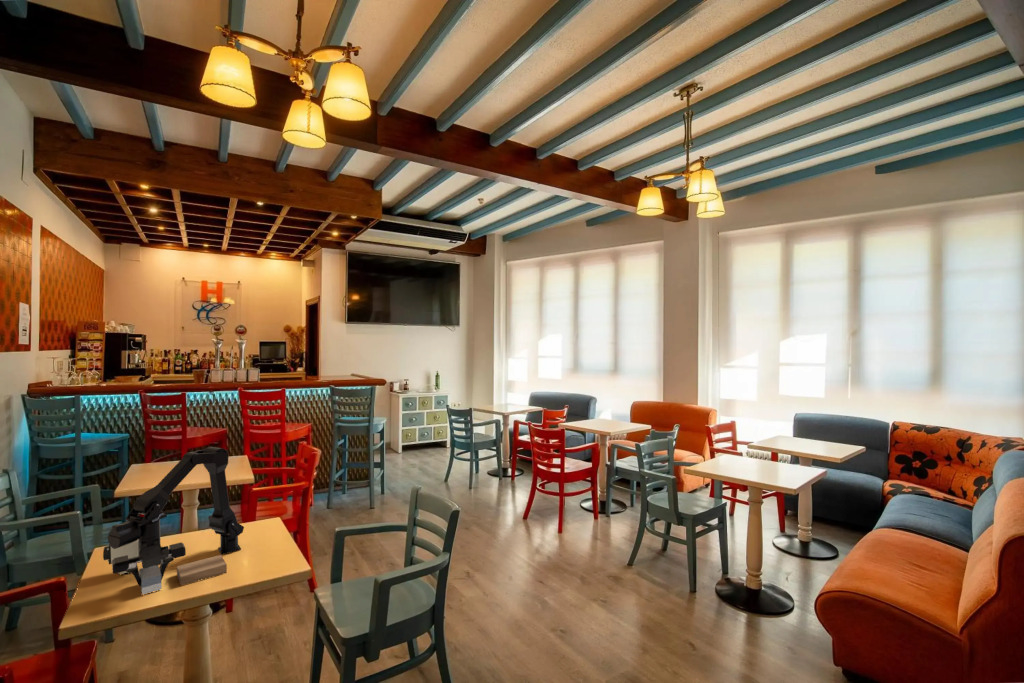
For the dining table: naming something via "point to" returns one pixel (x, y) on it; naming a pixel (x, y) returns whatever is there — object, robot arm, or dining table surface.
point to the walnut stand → (201, 569)
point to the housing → (150, 579)
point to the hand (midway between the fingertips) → (150, 583)
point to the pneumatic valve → (121, 552)
